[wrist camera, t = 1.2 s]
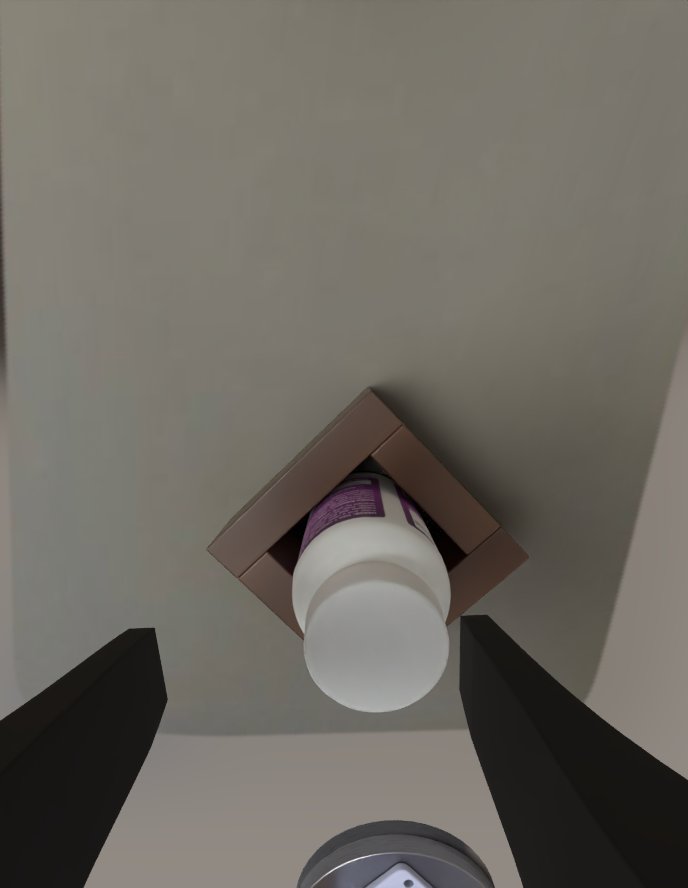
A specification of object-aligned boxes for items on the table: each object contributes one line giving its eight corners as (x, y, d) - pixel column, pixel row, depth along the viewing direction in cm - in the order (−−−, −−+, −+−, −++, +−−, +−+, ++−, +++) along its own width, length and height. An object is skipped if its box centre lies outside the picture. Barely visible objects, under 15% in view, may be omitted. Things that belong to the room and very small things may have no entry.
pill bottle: (299, 560, 21) (256, 713, 12) (323, 458, 20) (297, 536, 11) (404, 584, 22) (445, 755, 12) (432, 485, 21) (501, 584, 11)
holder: (501, 526, 21) (530, 557, 17) (361, 646, 22) (363, 697, 19) (368, 386, 20) (371, 390, 16) (229, 520, 21) (205, 549, 18)
